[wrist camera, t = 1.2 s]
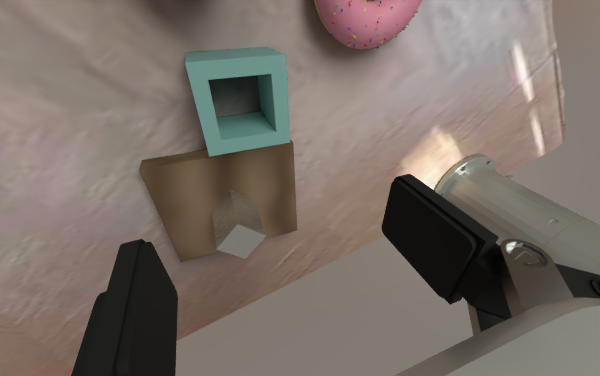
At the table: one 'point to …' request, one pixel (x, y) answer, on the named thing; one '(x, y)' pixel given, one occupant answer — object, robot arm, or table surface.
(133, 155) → the table surface
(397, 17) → the doughnut
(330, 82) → the table surface
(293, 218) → the post board
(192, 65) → the collar
